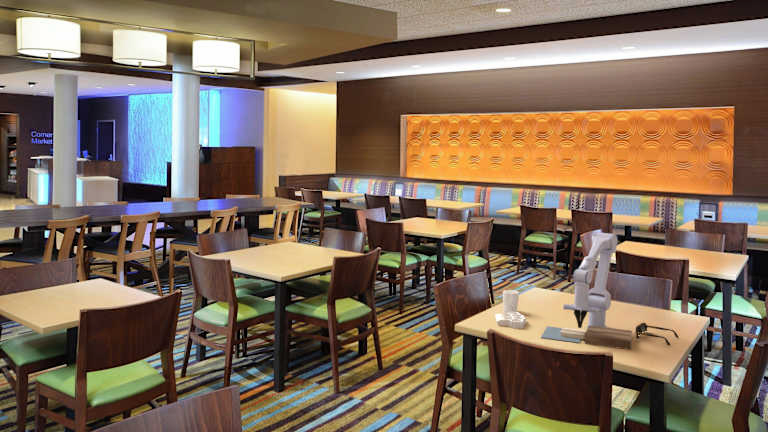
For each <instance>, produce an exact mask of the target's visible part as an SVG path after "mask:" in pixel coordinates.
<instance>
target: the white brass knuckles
mask: <svg viewBox="0 0 768 432" xmlns="http://www.w3.org/2000/svg"><path fill="white" fill-rule="evenodd" d="M494 319H495V322H496V324H497V325H498V326H500V325H502V326H501V327H510V328H512V329H519V330H520V329H523V328H524V326H525V325H526V324H528V323H529V321H527V318H526V317H525V315H524V314H521V313H520V312H518V311H517V312H500V313H499V312H498V313H496V314H494Z"/></svg>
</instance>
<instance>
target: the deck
mask: <svg viewBox="0 0 768 432" xmlns="http://www.w3.org/2000/svg"><path fill="white" fill-rule="evenodd" d="M587 326H588V328H587V327H586V335H585V339H584V344H587V345H595V346H602V347H610V348H616V347H619V348H618V349H623V348H627V349H626V350H630V349H632V337H633V331H632V330H630V329H621V328H612V327H607V326H606V327H598V326H590V325H588V324H587Z"/></svg>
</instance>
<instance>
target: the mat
mask: <svg viewBox="0 0 768 432" xmlns="http://www.w3.org/2000/svg"><path fill="white" fill-rule="evenodd" d="M562 328H563V327H555V326H546V327H545V329H544V331H543V332H542V335H541V337H540V338H541V339H545V340H553V341H559V342H560V341H561V342H565V343H573V344H574V343H576V344H580V343H581V340H582V339H578V338H570V337H563V336H560V334H561V330H562Z"/></svg>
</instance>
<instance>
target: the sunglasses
mask: <svg viewBox="0 0 768 432" xmlns="http://www.w3.org/2000/svg"><path fill="white" fill-rule="evenodd" d="M648 329H656V330H662V331H670V332H672V333H673V334H674V336H675V338H676V337H677V338H676V339H679V335H678V334H677V333H676V331H675V330H673V329H670V328H666V327H665V328H664V327H659V326H654V325H649V324H648V325H647V323H646V322H642V323H639V324H638V325H637V326H635V332H634V333H635V337H636V339H640V337H639V336H638V335H640V336H641V335H642V336H647V337H652V338H659V339H660V338H661V339H664V341H665V344H666V345H667V346H668V345H670V346H671V343H670V342H669V340H668V339H667V338H666V337H665V336H661V335H657V334H652V333H648ZM645 331H647V332H646V333H642V332H645Z"/></svg>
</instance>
